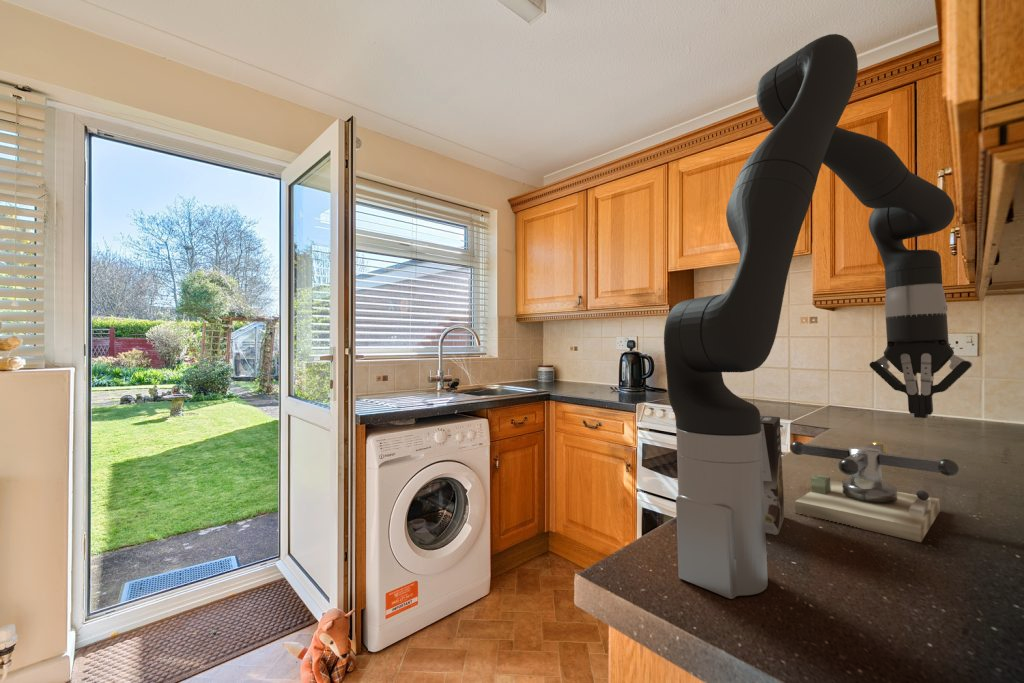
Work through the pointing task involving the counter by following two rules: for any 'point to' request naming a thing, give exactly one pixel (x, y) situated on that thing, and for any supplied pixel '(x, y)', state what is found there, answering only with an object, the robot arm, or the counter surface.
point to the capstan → (872, 468)
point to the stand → (870, 510)
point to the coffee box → (772, 474)
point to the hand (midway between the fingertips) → (921, 417)
